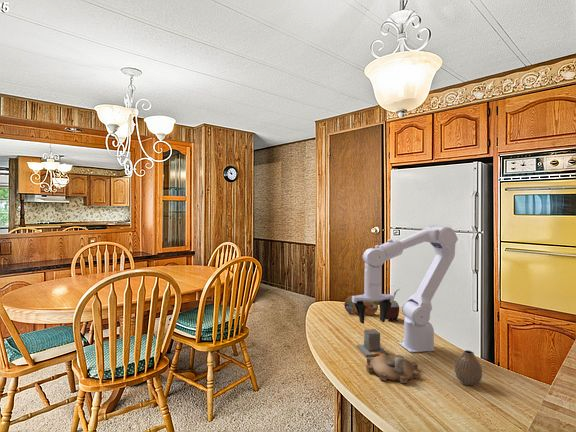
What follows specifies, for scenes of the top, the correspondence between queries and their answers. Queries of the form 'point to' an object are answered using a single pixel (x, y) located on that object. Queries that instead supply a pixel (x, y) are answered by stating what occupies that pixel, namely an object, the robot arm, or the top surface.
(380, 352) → the mat
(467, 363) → the vase
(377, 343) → the link block
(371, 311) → the tin
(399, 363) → the sprocket wheel
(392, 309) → the mate gourd
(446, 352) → the top surface
